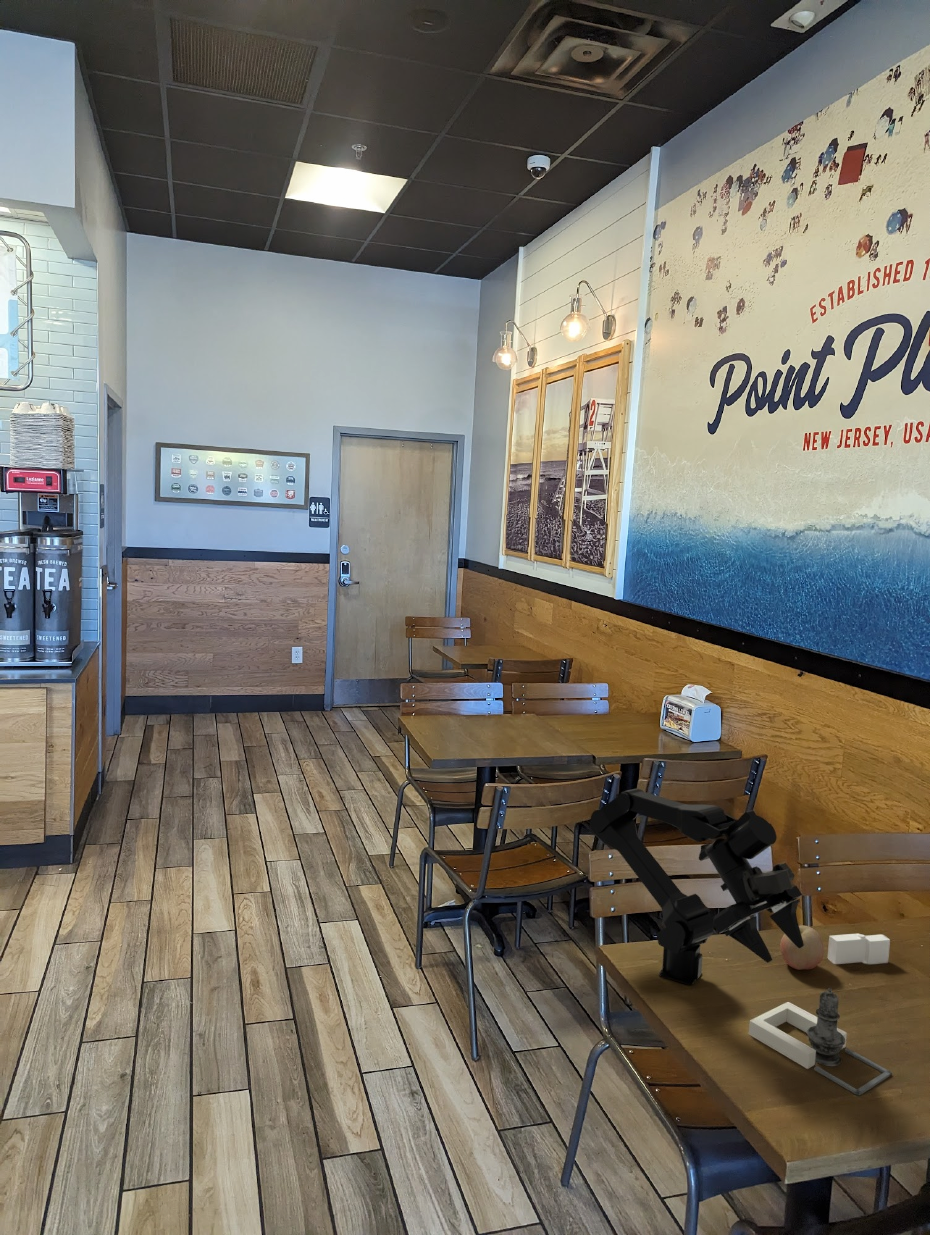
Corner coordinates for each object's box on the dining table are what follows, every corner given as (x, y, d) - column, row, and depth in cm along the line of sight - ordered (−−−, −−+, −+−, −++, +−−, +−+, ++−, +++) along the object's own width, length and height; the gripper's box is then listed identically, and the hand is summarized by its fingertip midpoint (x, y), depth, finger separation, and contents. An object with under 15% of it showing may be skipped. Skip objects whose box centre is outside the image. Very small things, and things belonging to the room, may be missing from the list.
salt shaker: (847, 1069, 140) (853, 999, 138) (808, 1064, 141) (814, 994, 139) (839, 1048, 145) (845, 980, 144) (802, 1043, 146) (807, 975, 145)
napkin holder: (819, 967, 173) (821, 940, 173) (822, 943, 183) (824, 917, 183) (902, 986, 167) (905, 958, 166) (901, 960, 177) (904, 934, 176)
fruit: (776, 954, 177) (779, 917, 176) (817, 959, 175) (820, 922, 174) (782, 974, 169) (785, 935, 168) (825, 979, 167) (829, 940, 167)
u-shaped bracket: (748, 1034, 148) (749, 1020, 148) (786, 1014, 155) (787, 1001, 154) (807, 1069, 139) (808, 1054, 139) (845, 1046, 146) (846, 1032, 145)
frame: (814, 1069, 139) (814, 1067, 139) (847, 1050, 145) (847, 1048, 145) (858, 1096, 133) (859, 1093, 133) (891, 1074, 139) (891, 1072, 139)
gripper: (731, 860, 146) (785, 950, 138) (795, 839, 157) (849, 921, 149) (691, 890, 153) (741, 976, 145) (755, 868, 164) (805, 947, 156)
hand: (786, 954), depth 148 cm, fingers open, 9 cm apart
